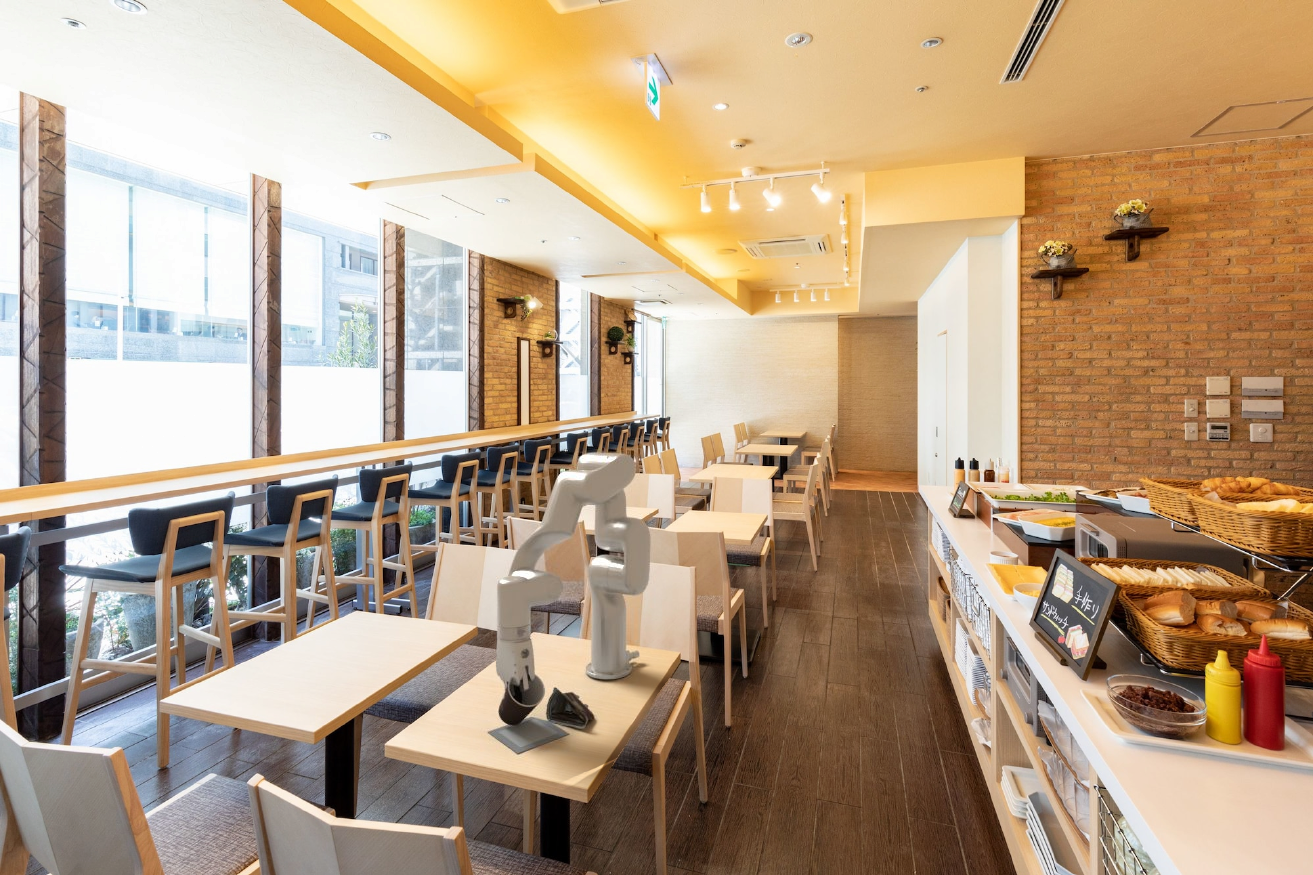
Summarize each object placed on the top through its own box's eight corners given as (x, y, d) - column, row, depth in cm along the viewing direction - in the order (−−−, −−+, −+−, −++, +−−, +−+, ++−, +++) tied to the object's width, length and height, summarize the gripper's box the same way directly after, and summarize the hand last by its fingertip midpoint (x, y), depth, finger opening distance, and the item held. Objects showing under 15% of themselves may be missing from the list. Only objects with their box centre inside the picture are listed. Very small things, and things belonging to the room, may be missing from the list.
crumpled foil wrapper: (607, 718, 148) (582, 675, 154) (589, 722, 142) (564, 676, 148) (580, 744, 149) (557, 700, 156) (562, 749, 144) (538, 702, 150)
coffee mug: (512, 737, 143) (527, 714, 138) (485, 710, 145) (500, 686, 140) (544, 705, 153) (560, 682, 148) (519, 680, 155) (534, 656, 150)
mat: (537, 714, 151) (537, 714, 151) (569, 734, 142) (569, 733, 142) (487, 732, 142) (487, 731, 142) (517, 754, 133) (517, 753, 133)
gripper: (545, 635, 144) (545, 716, 144) (511, 620, 155) (511, 696, 155) (516, 642, 138) (516, 726, 139) (483, 627, 149) (483, 705, 150)
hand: (514, 710), depth 147 cm, fingers closed
